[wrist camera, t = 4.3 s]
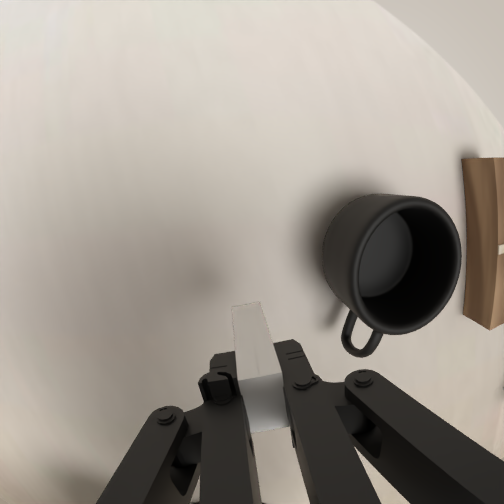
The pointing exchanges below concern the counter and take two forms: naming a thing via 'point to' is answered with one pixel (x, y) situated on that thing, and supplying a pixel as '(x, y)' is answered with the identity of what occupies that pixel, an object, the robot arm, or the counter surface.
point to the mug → (391, 264)
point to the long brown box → (484, 240)
